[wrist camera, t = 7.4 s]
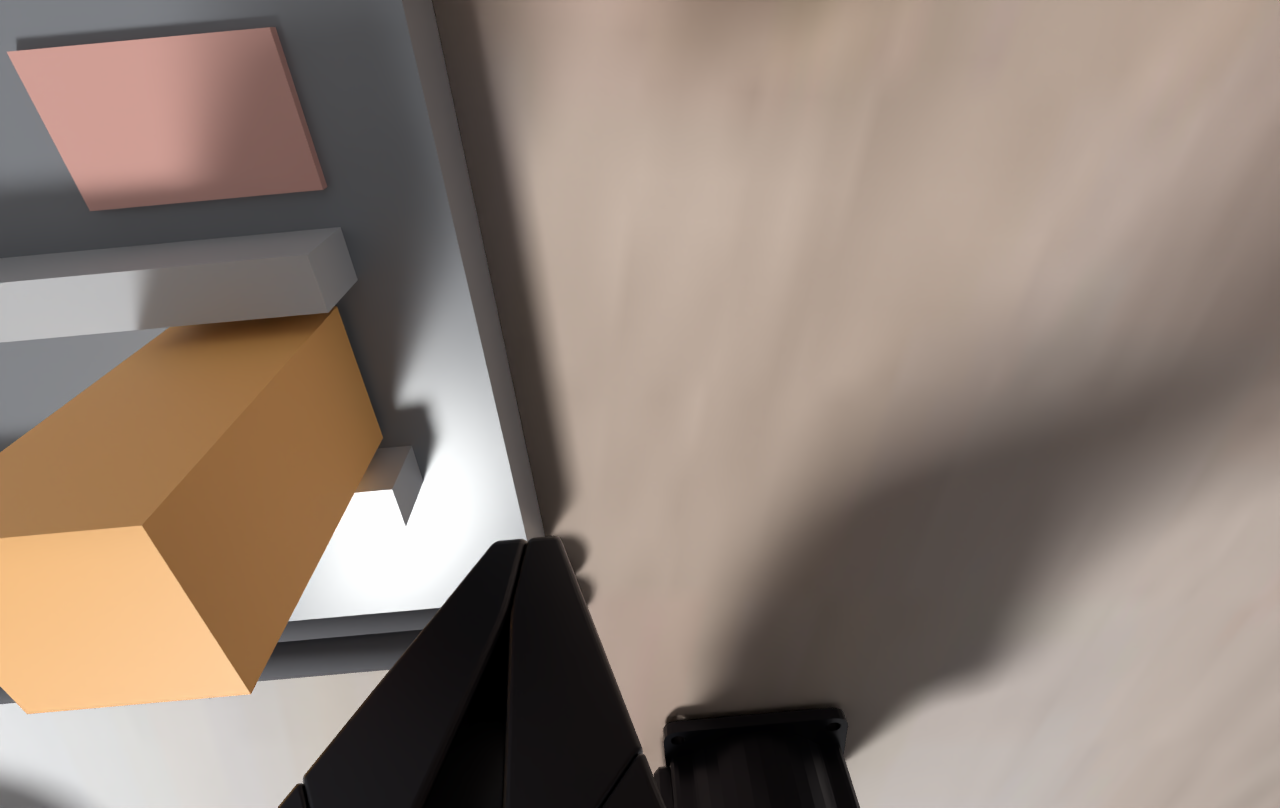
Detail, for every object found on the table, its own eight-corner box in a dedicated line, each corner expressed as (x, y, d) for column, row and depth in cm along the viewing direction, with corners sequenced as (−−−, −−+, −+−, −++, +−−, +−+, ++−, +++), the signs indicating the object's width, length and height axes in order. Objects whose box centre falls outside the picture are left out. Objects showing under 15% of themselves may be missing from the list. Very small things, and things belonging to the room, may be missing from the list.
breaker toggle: (337, 306, 12) (141, 525, 7) (383, 437, 14) (250, 694, 9) (178, 320, 12) (-132, 550, 7) (241, 450, 14) (26, 713, 9)
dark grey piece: (573, 554, 19) (571, 591, 18) (586, 623, 20) (584, 662, 19) (-92, 614, 19) (-139, 655, 18) (-28, 678, 20) (-67, 720, 19)
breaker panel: (420, -56, 11) (352, -77, 8) (546, 544, 18) (534, 647, 16) (-617, 42, 11) (-1060, 56, 8) (-80, 599, 19) (-211, 713, 16)
